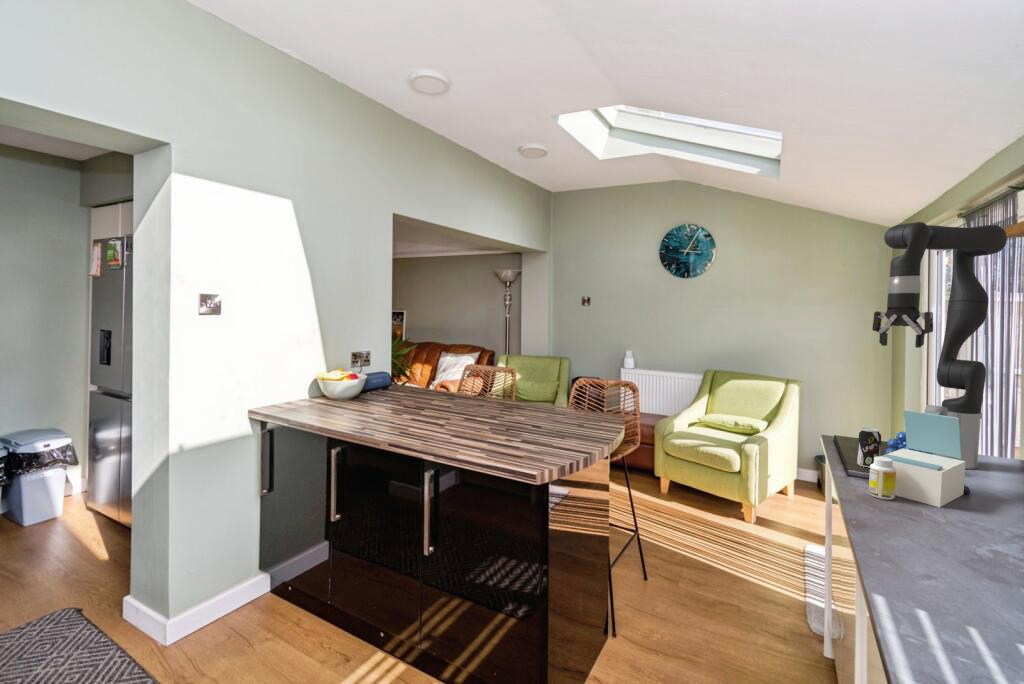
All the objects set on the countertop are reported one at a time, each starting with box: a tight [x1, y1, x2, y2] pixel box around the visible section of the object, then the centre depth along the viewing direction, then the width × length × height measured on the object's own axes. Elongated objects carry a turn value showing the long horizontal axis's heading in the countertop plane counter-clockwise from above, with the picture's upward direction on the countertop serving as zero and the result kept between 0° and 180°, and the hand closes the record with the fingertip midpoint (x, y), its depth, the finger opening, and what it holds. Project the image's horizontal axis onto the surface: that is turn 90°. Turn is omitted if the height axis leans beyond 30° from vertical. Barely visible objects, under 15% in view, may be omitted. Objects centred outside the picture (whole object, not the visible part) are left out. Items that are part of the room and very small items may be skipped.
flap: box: [902, 404, 962, 459], centre depth 137 cm, size 12×12×6 cm
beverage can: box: [856, 427, 882, 469], centre depth 154 cm, size 6×6×12 cm
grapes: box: [885, 431, 934, 455], centre depth 153 cm, size 12×7×12 cm, turn 44°
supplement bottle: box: [868, 455, 896, 501], centre depth 130 cm, size 6×6×10 cm
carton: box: [880, 448, 966, 508], centre depth 133 cm, size 16×14×10 cm
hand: (900, 346), depth 147 cm, fingers open, 8 cm apart
